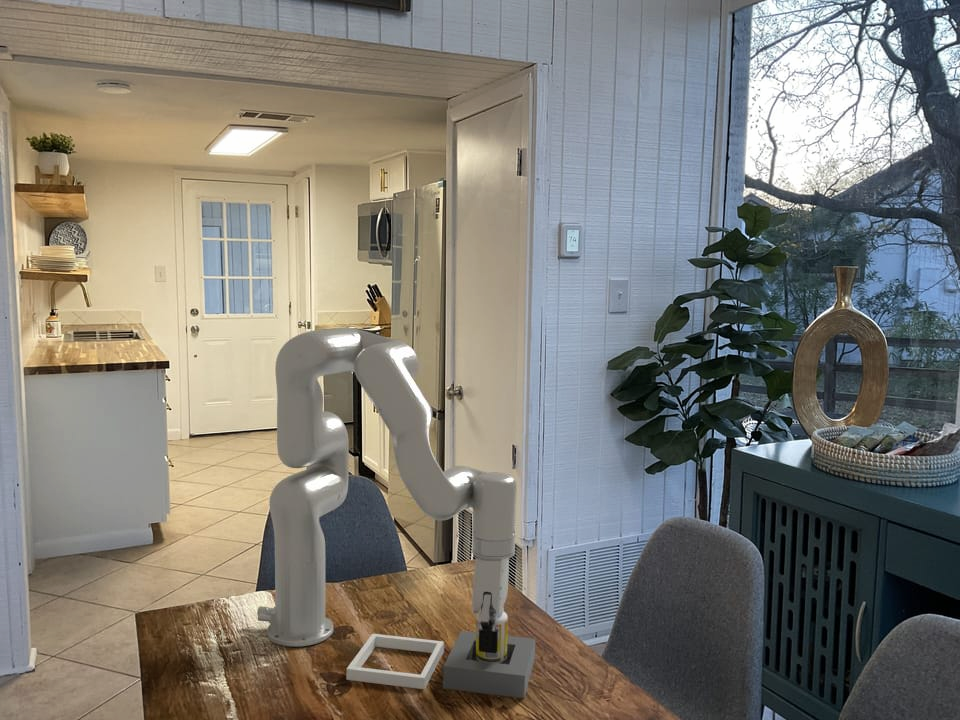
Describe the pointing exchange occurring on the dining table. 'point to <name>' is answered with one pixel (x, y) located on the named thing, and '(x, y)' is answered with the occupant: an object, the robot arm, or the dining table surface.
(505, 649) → the supplement bottle
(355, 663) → the tray rim
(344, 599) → the dining table surface
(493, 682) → the gray square socket block
